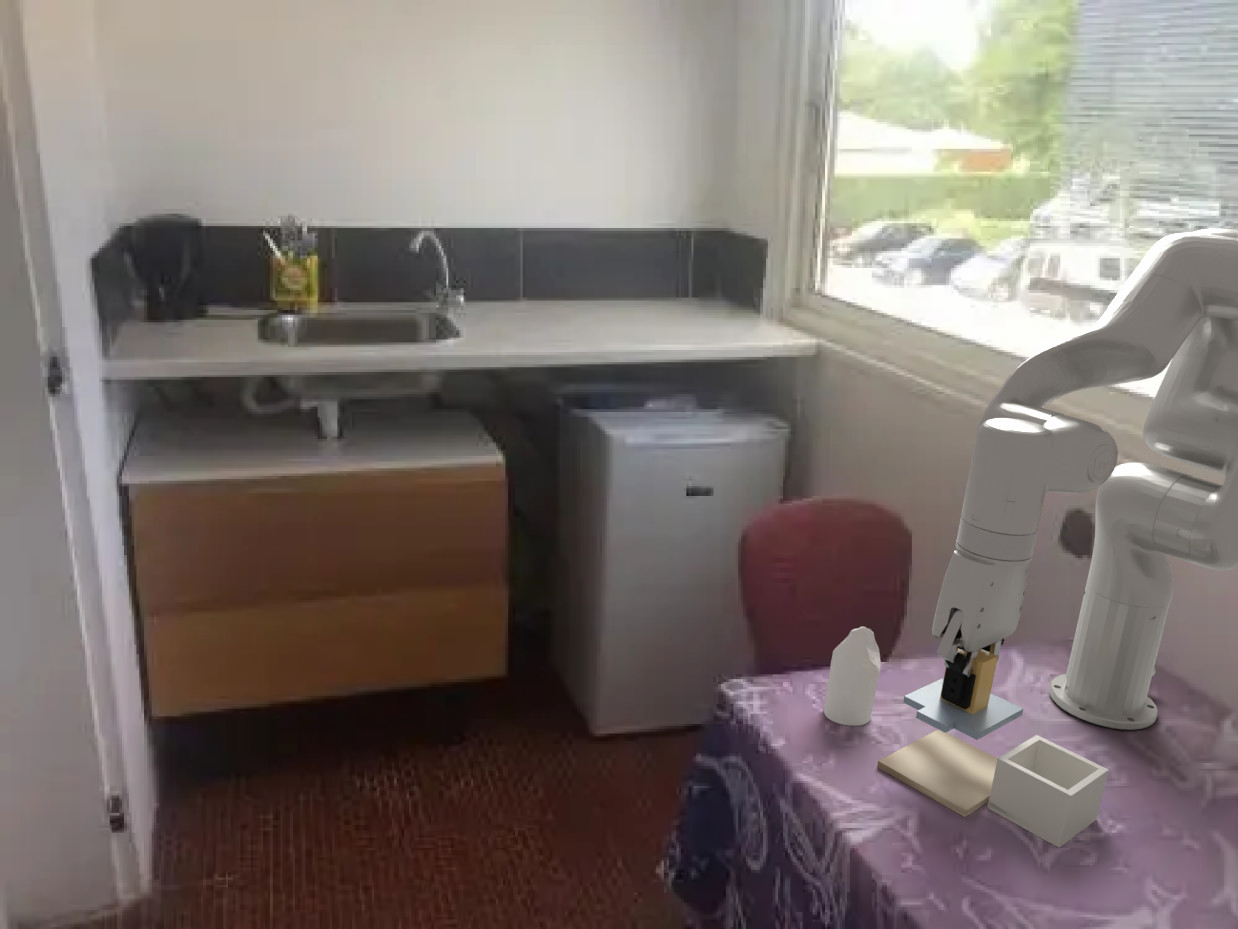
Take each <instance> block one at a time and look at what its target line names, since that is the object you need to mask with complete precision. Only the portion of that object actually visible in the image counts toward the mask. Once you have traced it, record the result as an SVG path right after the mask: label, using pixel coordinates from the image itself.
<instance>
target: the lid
mask: <svg viewBox="0 0 1238 929" xmlns="http://www.w3.org/2000/svg"><path fill="white" fill-rule="evenodd" d="M957 652H958V653H960V654H962V655H963V656H964V657H965V659H966V656H967V653H968V652H965V651H963V650H961V649H959V648H958V651H957ZM997 659H998V656H997V655H994V654H992V653H990V652H988V651H985V650H983V649H979V650H978V654H977V658H976V662H975V666H974V670H973V673H972V674H974V675H976V678H975V683H974V688H973V693H972V698H971V703H970V707H969V708H967V709H962V708H960V707H958V706H956V705H954V704H952V703H950V702H948V701H946V700H944V699H943V698H942V697H941V693H942V687H943V682H944V677H945V673H944V676H943V677H942V678H940V679H938V680H935V681H934V682H931V683H929V684H927V685H925V686H922V687H920V688H918V689H917V690H915V691H912V692H910V693H908V694H906V695H904V696H903V704H905V705H907V706H909V707H911V708H914V710H915V709H916V715H915V718H916V719H917V720H920V721H922V722H923V723H925V724H927V725H929V726H931V727H933V728H935V729H936V730H938V729H939V730H941V731H943V732H945V733H946V732H947V733H949V732H950V731H953V730H957V731H958V732H960V733H962V734H965V735H966V736H968V737H970V738H973V739H974V740H976V741H978V740H980V739H982V738H983V737H985V736H987V735H989V734H992V733H993V732H994V731H996V730H998V729H1000V728H1002V727H1003V726H1006V725H1007V724H1009V723H1011V722H1012V721H1014V720H1017V719H1018V718H1020V717H1022V716H1023V712H1024V708H1023V707H1020V706H1018V705H1017V704H1014V703H1012V702H1010V701H1008V700H1006V699H1004V698H1002V697H999V696H998V695H996V694H993V693H991V692H992V688H993V684H994V677H995V672H996V668H997V663H998V661H997ZM998 660H999V659H998ZM944 670H945V671H946V668H945V669H944ZM945 671H944V672H945Z"/></svg>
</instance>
